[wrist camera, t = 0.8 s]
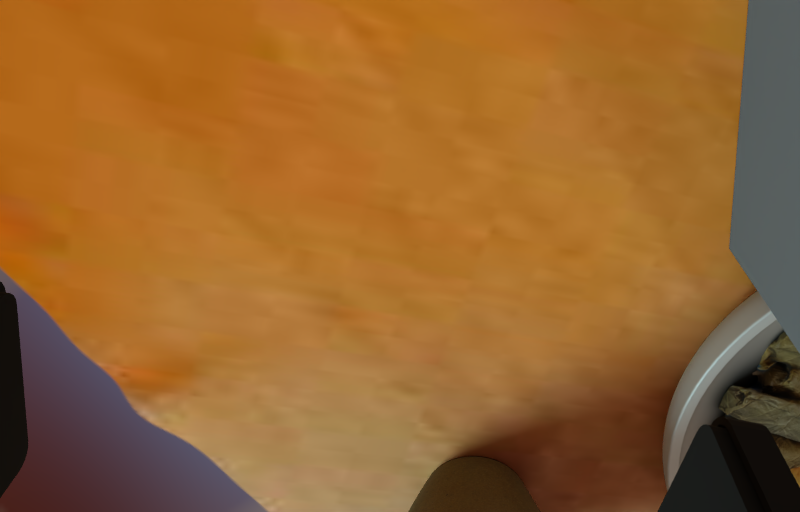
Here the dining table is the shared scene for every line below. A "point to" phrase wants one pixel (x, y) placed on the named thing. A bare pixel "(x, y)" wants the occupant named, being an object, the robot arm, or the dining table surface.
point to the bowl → (739, 385)
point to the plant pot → (474, 488)
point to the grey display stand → (770, 161)
